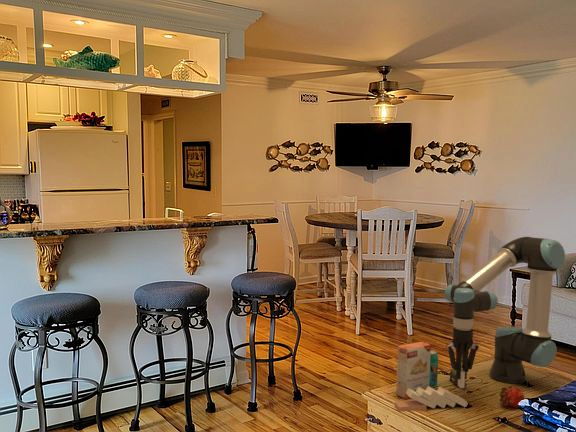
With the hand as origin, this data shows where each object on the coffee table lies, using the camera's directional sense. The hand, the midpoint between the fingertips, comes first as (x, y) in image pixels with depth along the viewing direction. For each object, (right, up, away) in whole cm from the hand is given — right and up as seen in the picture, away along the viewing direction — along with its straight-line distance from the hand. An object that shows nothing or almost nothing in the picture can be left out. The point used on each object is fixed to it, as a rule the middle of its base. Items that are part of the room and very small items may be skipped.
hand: (461, 386), depth 216 cm
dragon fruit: (+21, -8, +1) cm, 22 cm away
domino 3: (-8, -6, -1) cm, 10 cm away
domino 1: (-15, -7, -2) cm, 17 cm away
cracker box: (-16, -7, +11) cm, 21 cm away
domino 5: (+1, -7, +1) cm, 7 cm away
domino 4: (-4, -6, 0) cm, 7 cm away
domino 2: (-12, -6, -1) cm, 13 cm away
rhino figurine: (+6, -7, +21) cm, 23 cm away
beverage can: (-7, -6, +21) cm, 23 cm away
